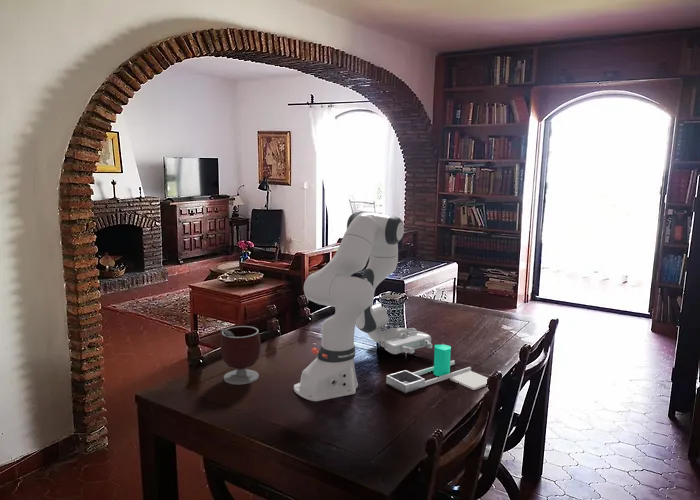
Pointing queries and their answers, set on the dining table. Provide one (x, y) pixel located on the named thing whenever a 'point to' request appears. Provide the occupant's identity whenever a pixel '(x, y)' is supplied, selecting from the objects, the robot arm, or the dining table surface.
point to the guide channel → (443, 375)
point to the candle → (442, 360)
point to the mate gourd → (240, 353)
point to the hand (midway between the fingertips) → (422, 348)
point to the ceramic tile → (470, 380)
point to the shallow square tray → (405, 381)
